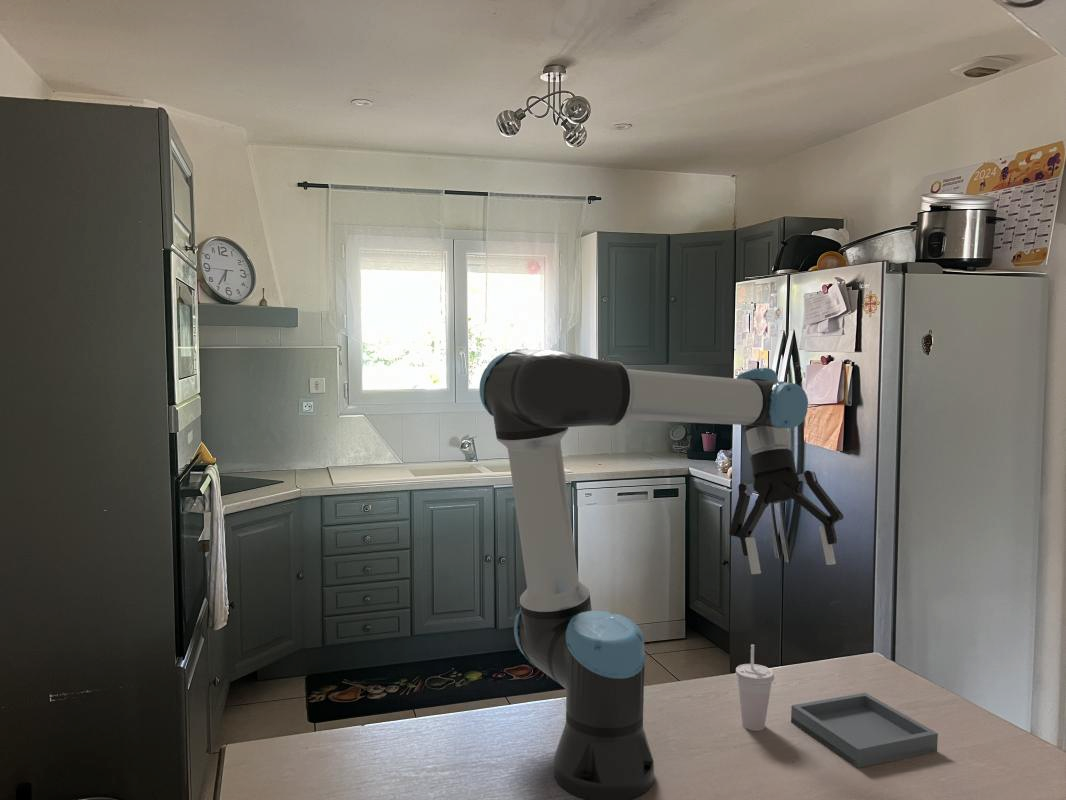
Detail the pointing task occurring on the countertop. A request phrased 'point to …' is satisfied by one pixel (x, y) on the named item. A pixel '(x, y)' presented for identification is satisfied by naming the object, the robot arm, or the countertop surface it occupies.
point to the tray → (863, 729)
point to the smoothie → (754, 693)
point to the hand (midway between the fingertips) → (792, 569)
